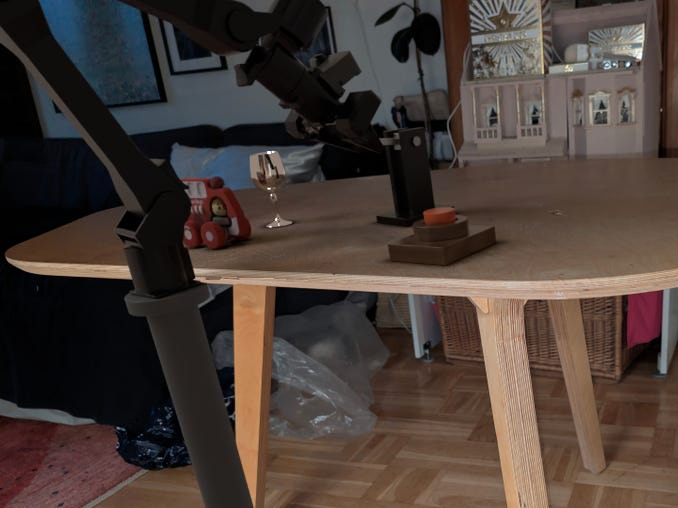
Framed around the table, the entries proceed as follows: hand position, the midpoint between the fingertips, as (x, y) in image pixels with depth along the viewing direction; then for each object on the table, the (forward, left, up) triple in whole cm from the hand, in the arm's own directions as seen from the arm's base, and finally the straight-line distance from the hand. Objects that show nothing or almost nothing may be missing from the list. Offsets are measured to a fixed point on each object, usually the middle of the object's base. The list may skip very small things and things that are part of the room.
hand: (372, 150), depth 105 cm
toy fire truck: (-15, +22, -12) cm, 29 cm away
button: (-11, -20, -8) cm, 24 cm away
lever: (+3, -1, 0) cm, 3 cm away
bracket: (+6, -1, -12) cm, 13 cm away
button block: (-11, -20, -12) cm, 26 cm away
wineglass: (-2, +23, -12) cm, 26 cm away
